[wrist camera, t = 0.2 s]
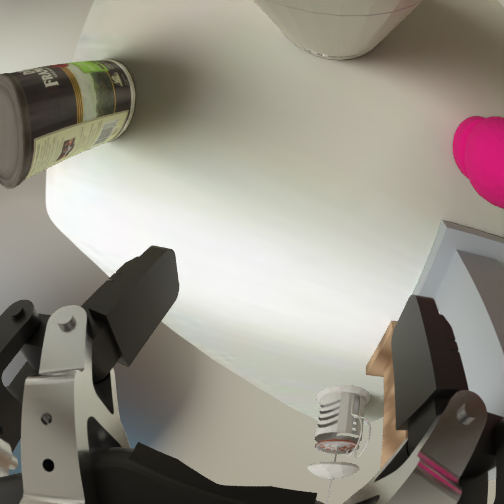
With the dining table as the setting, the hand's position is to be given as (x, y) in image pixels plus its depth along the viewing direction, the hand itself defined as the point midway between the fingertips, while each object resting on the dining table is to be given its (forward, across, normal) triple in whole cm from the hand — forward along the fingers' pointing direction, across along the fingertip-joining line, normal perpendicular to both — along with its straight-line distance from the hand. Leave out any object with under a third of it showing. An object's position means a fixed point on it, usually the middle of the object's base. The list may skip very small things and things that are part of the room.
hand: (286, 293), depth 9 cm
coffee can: (+18, +24, -6) cm, 30 cm away
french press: (+19, -12, +37) cm, 43 cm away
